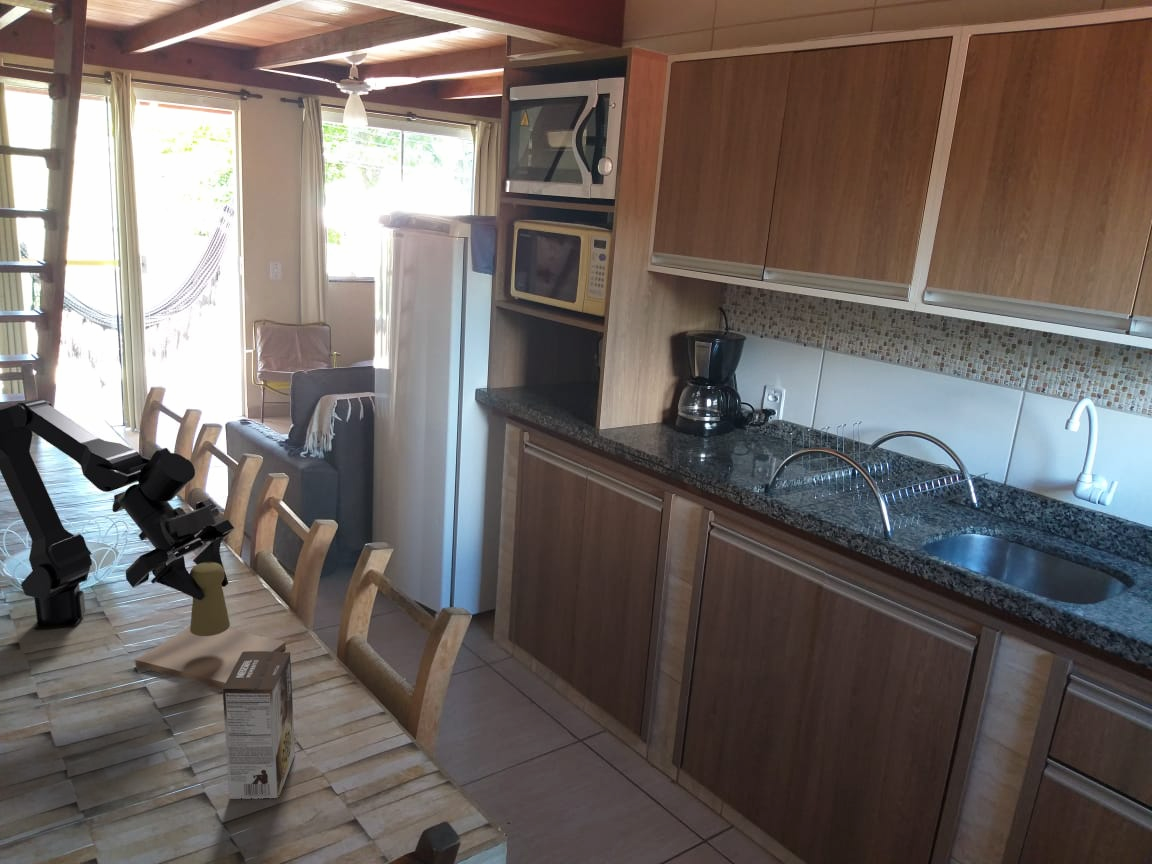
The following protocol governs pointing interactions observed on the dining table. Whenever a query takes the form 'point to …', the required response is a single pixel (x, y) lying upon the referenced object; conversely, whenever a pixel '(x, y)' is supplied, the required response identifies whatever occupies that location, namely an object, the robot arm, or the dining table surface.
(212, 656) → the walnut board
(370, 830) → the dining table surface
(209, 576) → the cork
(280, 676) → the coffee box
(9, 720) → the dining table surface
